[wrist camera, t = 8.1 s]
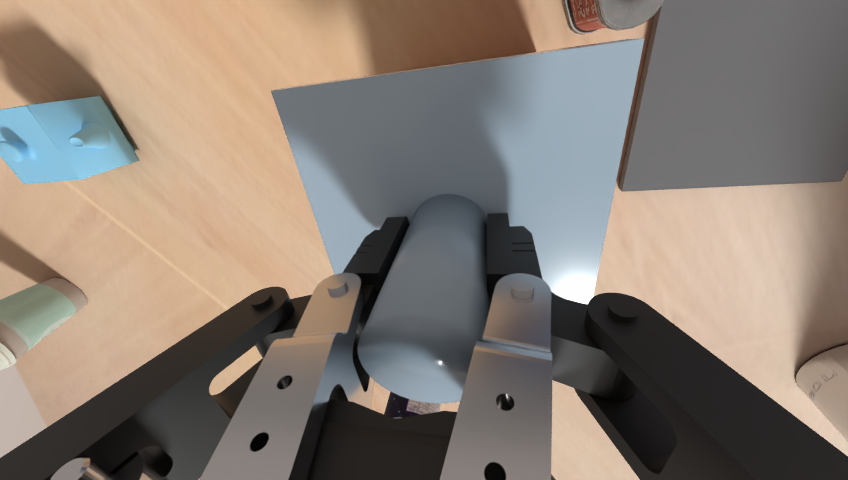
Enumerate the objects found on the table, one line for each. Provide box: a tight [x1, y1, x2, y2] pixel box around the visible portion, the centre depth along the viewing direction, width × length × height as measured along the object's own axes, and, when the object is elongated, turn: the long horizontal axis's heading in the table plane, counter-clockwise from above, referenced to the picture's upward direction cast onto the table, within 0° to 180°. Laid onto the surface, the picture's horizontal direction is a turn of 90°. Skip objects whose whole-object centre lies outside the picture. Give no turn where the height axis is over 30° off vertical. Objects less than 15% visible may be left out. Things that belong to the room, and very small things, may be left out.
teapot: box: [0, 96, 139, 184], centre depth 28 cm, size 12×6×8 cm, turn 98°
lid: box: [271, 39, 644, 404], centre depth 10 cm, size 11×11×7 cm
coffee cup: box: [0, 278, 87, 370], centre depth 43 cm, size 9×9×12 cm
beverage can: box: [384, 392, 440, 418], centre depth 35 cm, size 6×6×12 cm
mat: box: [619, 0, 848, 191], centre depth 20 cm, size 14×14×1 cm
